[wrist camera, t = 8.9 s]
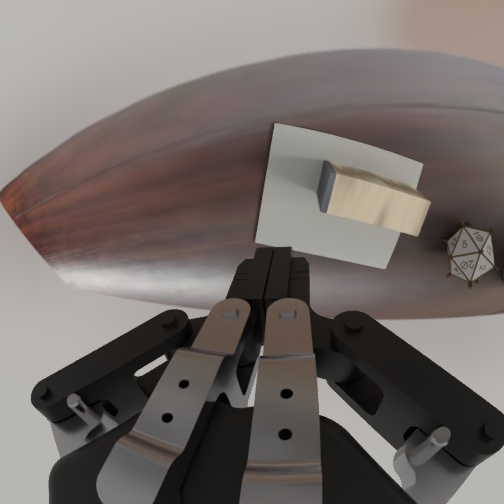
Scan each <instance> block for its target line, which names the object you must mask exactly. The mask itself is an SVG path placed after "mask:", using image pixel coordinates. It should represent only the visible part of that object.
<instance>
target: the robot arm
mask: <svg viewBox="0 0 504 504" xmlns="http://www.w3.org/2000/svg"><path fill="white" fill-rule="evenodd" d="M503 279H504V270H503ZM261 345H264V352H263V356H259V354H260V349H261ZM162 355H165V357H166V358H167V361H166V362H164V363H162V364H161V365H159V366H158V367H156V368H154V369H153V370H151V371H149V372H148V373H146V374H144V375H143V376H139V377H137V376H134V374H135V372H136V371H137V370H139V369H141V368H142V367H144V366H146V365H147V364H149V363H151V362H152V361H154V360H156V359H157V358H159V357H160V356H162ZM257 370H258V374H257V384H256V393H255V402H254V407H247V405H248V399H249V395H250V393H251V390H252V386H253V383H254V380H255V376H256V373H257ZM317 377H319V378H322V379H326V380H327V383H328V385H329V386H330V387H331V388H332V389H333V390H334V391H335V392H336V393H337V394H338V395H339V396H340V397H341V398H342V399H343V400H344V401H345V402H346V403H347V404H348V405H349V406H350V407H351V408H352V409H354V410H355V411H356V412H357V413H358V414H359V415H360V416H361V417H362V418H363V419H364V420H365V421H366V422H367V423H368V424H369V425H370V426H371V427H372V428H373V429H374V430H376V431H377V432H378V433H379V434H380V435H381V436H382V437H383V438H384V439H385V440H386V441H387V442H389V443H390V444H391V445H392V446H393V447H394V448H395V449H396V450H397V452H396V453H395V456H394V459H393V466H394V470H395V472H396V473H397V474H398V476H399V477H400V479H401V482H402V488H401V487H400V486H399V485H398V484H397V483H396V482H395V481H394V480H393V479H392V478H391V477H390V476H389V475H388V474H387V473H386V472H385V471H384V470H383V468H382V467H381V466H380V465H379V464H378V463H377V462H376V461H375V460H374V459H373V458H372V457H371V456H370V455H369V454H368V453H367V452H366V451H365V450H364V449H363V448H362V446H361V445H360V444H359V443H358V442H357V441H356V440H355V439H354V438H353V437H352V436H351V435H350V433H349V432H348V431H347V430H346V429H344V428H343V427H342V426H341V425H339V424H338V423H336V422H335V421H333V420H331V419H329V418H327V417H324V416H321V415H319V403H318V389H317ZM31 402H32V404H33V406H34V407H35V408H36V409H37V410H38V411H40V412H41V413H42V414H43V415H44V416H45V417H46V418H47V420H48V421H50V423H51V427H52V431H53V435H54V438H55V441H56V445H57V448H58V451H59V454H60V457H61V458H60V459H59V460H58V461H57V462H56V463H55V464H54V466H53V468H52V470H51V472H50V476H49V504H446V503H447V502H448V501H449V499H450V498H451V497H452V496H453V495H454V494H455V493H456V491H457V490H458V489H459V488H460V486H461V485H462V484H463V483H464V481H465V480H466V478H467V477H468V476H469V475H470V473H471V472H472V470H473V469H474V468H475V467H476V466H477V465H478V464H480V463H481V462H483V461H484V460H486V459H487V458H489V457H490V456H492V455H493V454H495V453H496V452H497V451H499V450H500V449H501V448H502V447H503V445H504V414H503V413H502V412H501V411H499V410H498V409H497V408H495V407H494V406H493V405H491V404H490V403H489V402H487V401H486V400H485V399H483V398H482V397H481V396H479V395H478V394H477V393H475V392H474V391H473V390H471V389H470V388H469V387H467V386H466V385H465V384H463V383H462V382H460V381H459V380H457V379H456V378H455V377H454V376H452V375H451V374H449V373H448V372H447V371H445V370H444V369H443V368H441V367H440V366H438V365H437V364H436V363H434V362H433V361H432V360H430V359H429V358H428V357H426V356H425V355H423V354H422V353H421V352H419V351H418V350H416V349H415V348H414V347H412V346H411V345H409V344H408V343H407V342H405V341H404V340H403V339H401V338H400V337H398V336H397V335H395V334H394V333H393V332H391V331H390V330H388V329H387V328H386V327H384V326H382V325H381V324H380V323H379V322H377V321H376V320H374V319H373V318H371V317H370V316H369V315H367V314H365V313H363V312H359V311H346V312H343V313H341V314H339V315H337V316H336V317H335V318H334V319H329V318H325V317H322V316H320V315H318V314H316V313H315V312H314V311H313V310H312V309H311V307H310V279H309V263H308V262H307V260H306V259H305V258H304V257H298V258H293V253H292V246H288V247H275V248H274V247H263V248H257V249H256V252H255V255H254V258H253V259H245V260H244V261H243V262H242V263H241V264H240V265H239V266H238V268H237V271H236V275H235V276H234V278H233V281H232V283H231V286H230V289H229V291H228V294H227V296H226V299H225V300H223V301H220V302H219V303H217V304H216V305H215V306H214V307H213V308H212V309H211V311H210V313H209V315H208V316H205V317H200V318H195V319H188V316H187V314H186V313H185V312H184V311H182V310H177V309H172V310H167V311H165V312H162V313H160V314H159V315H157V316H155V317H153V318H152V319H150V320H148V321H146V322H145V323H143V324H141V325H139V326H138V327H136V328H134V329H132V330H131V331H129V332H127V333H125V334H123V335H122V336H120V337H118V338H116V339H115V340H113V341H111V342H109V343H108V344H106V345H104V346H102V347H101V348H99V349H97V350H95V351H93V352H92V353H90V354H88V355H86V356H84V357H83V358H81V359H79V360H77V361H75V362H74V363H72V364H70V365H68V366H66V367H65V368H63V369H61V370H59V371H57V372H56V373H54V374H52V375H50V376H48V377H47V378H45V379H43V380H41V381H40V382H38V384H37V385H36V386H35V387H34V389H33V391H32V394H31Z"/></svg>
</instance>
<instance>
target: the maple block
mask: <svg viewBox="0 0 504 504" xmlns="http://www.w3.org/2000/svg"><path fill="white" fill-rule="evenodd" d="M316 194H317V198H318V203H319V208H320V212H323V213H327V214H331V215H336V216H340V217H344V218H349V219H353V220H357V221H361V222H365V223H369V224H373V225H377V226H381V227H384V228H388V229H392V230H396V231H399V232H403V233H407V234H410V235H414V236H417V237H418V235H419V232H420V230H421V227H422V225H423V222H424V220H425V217H426V214H427V212H428V209H429V206H430V203H431V202H430V201H429V200H428V199H427V198H426V197H425V196H423V195H422V194H421V193H420V192H419V191H417V190H416V189H415V188H414V187H412V186H411V185H410V184H407V183H404V182H401V181H398V180H395V179H392V178H388V177H385V176H382V175H379V174H375V173H372V172H369V171H365V170H362V169H358V168H354V167H351V166H347V165H343V164H339V163H335V162H331V161H327V160H324V162H323V166H322V171H321V175H320V179H319V184H318V188H317V192H316Z"/></svg>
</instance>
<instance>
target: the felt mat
mask: <svg viewBox="0 0 504 504" xmlns="http://www.w3.org/2000/svg"><path fill="white" fill-rule="evenodd" d="M324 160H327V161H331V162H335V163H339V164H343V165H347V166H351V167H354V168H358V169H362V170H365V171H369V172H372V173H375V174H379V175H382V176H385V177H388V178H392V179H395V180H398V181H401V182H404V183H407V184H410V185H411V186H412V187H414V188H415V189H416V187H417V184H418V181H419V178H420V174H421V171H422V167H423V163H420V162H417V161H415V160H412V159H410V158H407V157H404V156H401V155H398V154H395V153H393V152H390V151H387V150H384V149H380V148H377V147H374V146H371V145H368V144H364V143H361V142H357V141H354V140H350V139H346V138H343V137H339V136H335V135H331V134H327V133H323V132H318V131H314V130H309V129H305V128H300V127H295V126H290V125H284V124H279V123H275V125H274V131H273V137H272V143H271V149H270V155H269V161H268V167H267V173H266V179H265V185H264V191H263V197H262V203H261V209H260V215H259V221H258V227H257V233H256V239H255V243H260V244H265V245H270V246H275V247H288V246H292V250H295V251H300V252H304V253H309V254H314V255H319V256H324V257H329V258H334V259H338V260H343V261H348V262H353V263H357V264H362V265H367V266H372V267H376V268H381V269H386V267H387V264H388V262H389V260H390V257H391V255H392V253H393V250H394V248H395V245H396V243H397V240H398V238H399V235H400V233H401V232H399V231H396V230H392V229H388V228H384V227H381V226H377V225H373V224H369V223H365V222H361V221H357V220H353V219H349V218H344V217H340V216H336V215H331V214H327V213H323V212H320V208H319V203H318V198H317V194H316V192H317V188H318V184H319V179H320V175H321V171H322V166H323V162H324Z"/></svg>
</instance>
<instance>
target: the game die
mask: <svg viewBox="0 0 504 504" xmlns="http://www.w3.org/2000/svg"><path fill="white" fill-rule="evenodd" d="M460 224H461V226H462V227H461V228H460V229H459V230H458V231H457V232H456V233H455V234H454V235H453V236H452V237H451V238H450V239H449V240H446V239H445V238H444V239H442V241H443V242H444V243H446V244H447V251H448V256H447V257H446V259H447V260H449V268H450V273H448V274H447V277H446V278H448V277H450V276H451V275H454V276H456V277H458V278H460V279H462V280H465V281H467V282H469V284H468V287H469V289H470V288H471V287H472V284H471V283H472V282H473V281H475V283H476V284H477V283H478V278H480V277H481V276H483V275H484V274H486V273H487V272H489V271H490V270H492V269H493V268H495V270H500V269H499V267H497V266H495V261H494V252H493V244H492V238H491V233H493V232H494V228H491V230H490V231H485V230H480V229H476V228H472V227H471V224H470V223H469V224H468V227H467V226H464V221H462V220H461V223H460Z"/></svg>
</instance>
